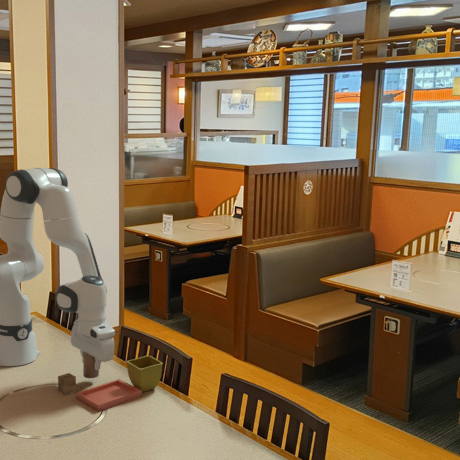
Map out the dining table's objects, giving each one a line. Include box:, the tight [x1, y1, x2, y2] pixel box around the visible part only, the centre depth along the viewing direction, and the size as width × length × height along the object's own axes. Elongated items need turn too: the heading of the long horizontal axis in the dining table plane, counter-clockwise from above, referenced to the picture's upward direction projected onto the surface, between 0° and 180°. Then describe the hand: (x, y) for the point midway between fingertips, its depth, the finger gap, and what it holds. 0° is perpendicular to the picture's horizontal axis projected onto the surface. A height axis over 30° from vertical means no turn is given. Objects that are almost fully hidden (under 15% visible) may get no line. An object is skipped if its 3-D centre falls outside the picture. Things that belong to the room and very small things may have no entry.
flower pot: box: [126, 355, 164, 393], centre depth 199 cm, size 9×9×9 cm
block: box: [57, 372, 77, 396], centre depth 195 cm, size 4×4×5 cm
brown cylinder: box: [82, 352, 100, 379], centre depth 202 cm, size 5×5×8 cm
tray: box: [75, 378, 143, 413], centre depth 191 cm, size 12×16×2 cm
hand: (91, 366), depth 202 cm, fingers closed on brown cylinder, 5 cm apart
